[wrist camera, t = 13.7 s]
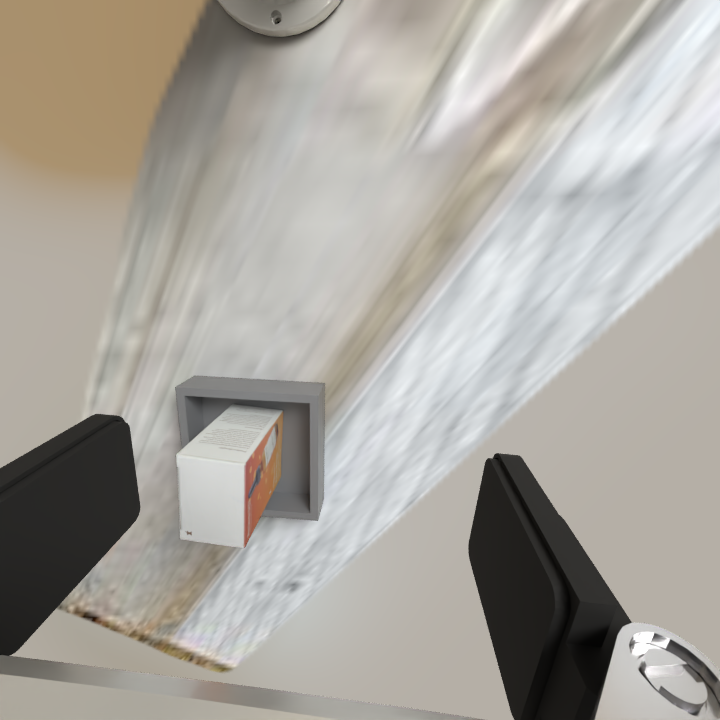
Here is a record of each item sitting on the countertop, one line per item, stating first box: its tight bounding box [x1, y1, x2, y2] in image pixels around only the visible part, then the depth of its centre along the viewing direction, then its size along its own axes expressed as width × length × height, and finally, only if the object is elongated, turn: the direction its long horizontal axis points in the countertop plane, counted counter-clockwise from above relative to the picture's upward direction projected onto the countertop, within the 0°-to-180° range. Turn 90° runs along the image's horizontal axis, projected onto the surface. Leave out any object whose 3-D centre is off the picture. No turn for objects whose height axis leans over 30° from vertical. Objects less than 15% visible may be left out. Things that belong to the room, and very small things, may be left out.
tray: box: [175, 376, 325, 521], centre depth 37 cm, size 14×14×4 cm
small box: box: [176, 404, 283, 548], centre depth 33 cm, size 8×6×10 cm
